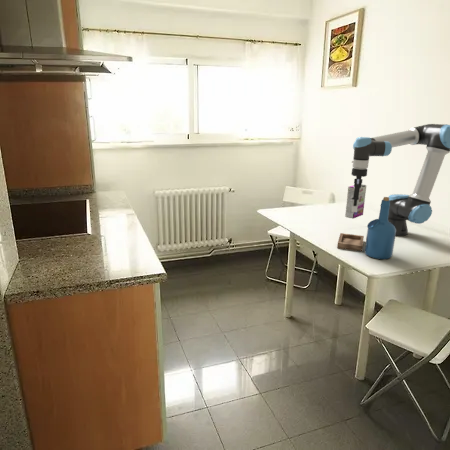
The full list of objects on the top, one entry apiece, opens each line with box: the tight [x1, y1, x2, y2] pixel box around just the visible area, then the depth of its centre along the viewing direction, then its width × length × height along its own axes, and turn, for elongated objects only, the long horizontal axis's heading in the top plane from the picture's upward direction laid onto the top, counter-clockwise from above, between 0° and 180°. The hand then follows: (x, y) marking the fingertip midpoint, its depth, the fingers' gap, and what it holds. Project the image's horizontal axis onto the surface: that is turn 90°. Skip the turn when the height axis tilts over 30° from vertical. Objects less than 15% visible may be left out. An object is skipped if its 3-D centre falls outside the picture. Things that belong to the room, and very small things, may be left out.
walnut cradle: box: [336, 232, 365, 252], centre depth 207 cm, size 12×18×3 cm
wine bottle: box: [364, 196, 397, 260], centre depth 188 cm, size 14×13×30 cm
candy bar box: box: [344, 183, 367, 219], centre depth 200 cm, size 11×5×16 cm, turn 134°
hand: (354, 209), depth 202 cm, fingers closed on candy bar box, 12 cm apart
